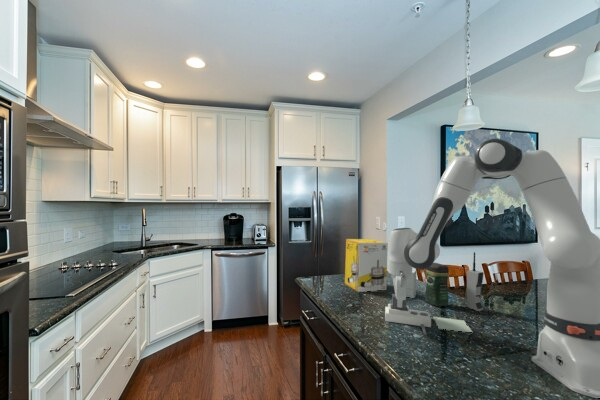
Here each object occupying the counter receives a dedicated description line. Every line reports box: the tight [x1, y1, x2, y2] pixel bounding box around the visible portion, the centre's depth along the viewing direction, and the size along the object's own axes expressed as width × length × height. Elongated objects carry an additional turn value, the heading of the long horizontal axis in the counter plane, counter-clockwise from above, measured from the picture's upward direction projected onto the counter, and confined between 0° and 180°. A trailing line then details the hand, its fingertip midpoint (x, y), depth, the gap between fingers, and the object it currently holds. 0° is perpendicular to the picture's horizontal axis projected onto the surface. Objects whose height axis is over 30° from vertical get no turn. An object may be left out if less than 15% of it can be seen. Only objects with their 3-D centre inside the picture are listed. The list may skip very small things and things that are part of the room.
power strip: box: [384, 303, 432, 337], centre depth 108 cm, size 16×16×4 cm
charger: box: [391, 293, 407, 311], centre depth 113 cm, size 4×5×7 cm
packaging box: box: [344, 238, 389, 293], centre depth 157 cm, size 16×16×25 cm
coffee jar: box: [424, 262, 450, 307], centre depth 133 cm, size 10×8×19 cm
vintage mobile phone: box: [466, 251, 484, 312], centre depth 127 cm, size 4×5×25 cm
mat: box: [432, 316, 474, 334], centre depth 109 cm, size 11×11×1 cm
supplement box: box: [406, 269, 417, 299], centre depth 144 cm, size 7×7×13 cm
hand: (399, 304), depth 113 cm, fingers closed on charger, 4 cm apart
